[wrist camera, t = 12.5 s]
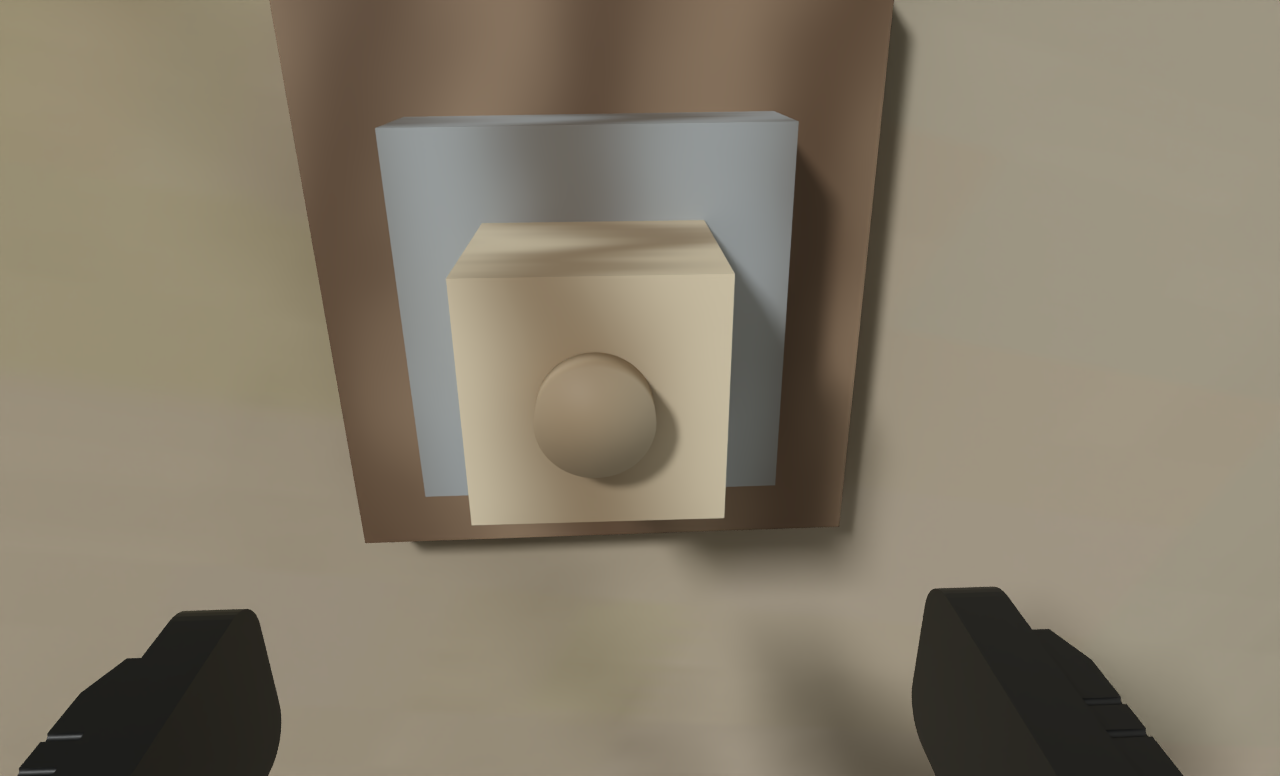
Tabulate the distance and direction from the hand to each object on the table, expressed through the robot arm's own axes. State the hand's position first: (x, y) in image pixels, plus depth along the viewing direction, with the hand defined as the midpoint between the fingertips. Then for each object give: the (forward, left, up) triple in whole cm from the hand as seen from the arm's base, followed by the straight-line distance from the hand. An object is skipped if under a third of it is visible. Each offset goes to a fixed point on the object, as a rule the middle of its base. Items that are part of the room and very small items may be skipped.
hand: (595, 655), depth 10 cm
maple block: (0, 0, -12) cm, 12 cm away
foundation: (0, 0, -17) cm, 17 cm away
